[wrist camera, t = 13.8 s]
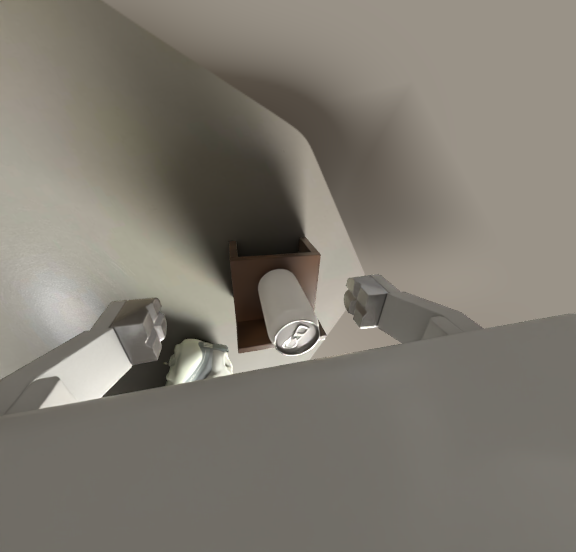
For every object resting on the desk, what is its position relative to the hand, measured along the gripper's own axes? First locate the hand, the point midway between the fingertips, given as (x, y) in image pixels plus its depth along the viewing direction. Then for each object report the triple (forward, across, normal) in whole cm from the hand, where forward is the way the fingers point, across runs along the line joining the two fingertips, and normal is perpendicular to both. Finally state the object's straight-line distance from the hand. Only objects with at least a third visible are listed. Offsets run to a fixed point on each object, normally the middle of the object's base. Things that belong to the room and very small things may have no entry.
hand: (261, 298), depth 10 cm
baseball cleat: (+30, +14, +43) cm, 54 cm away
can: (+22, -5, +14) cm, 26 cm away
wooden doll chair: (+30, -5, +15) cm, 34 cm away
